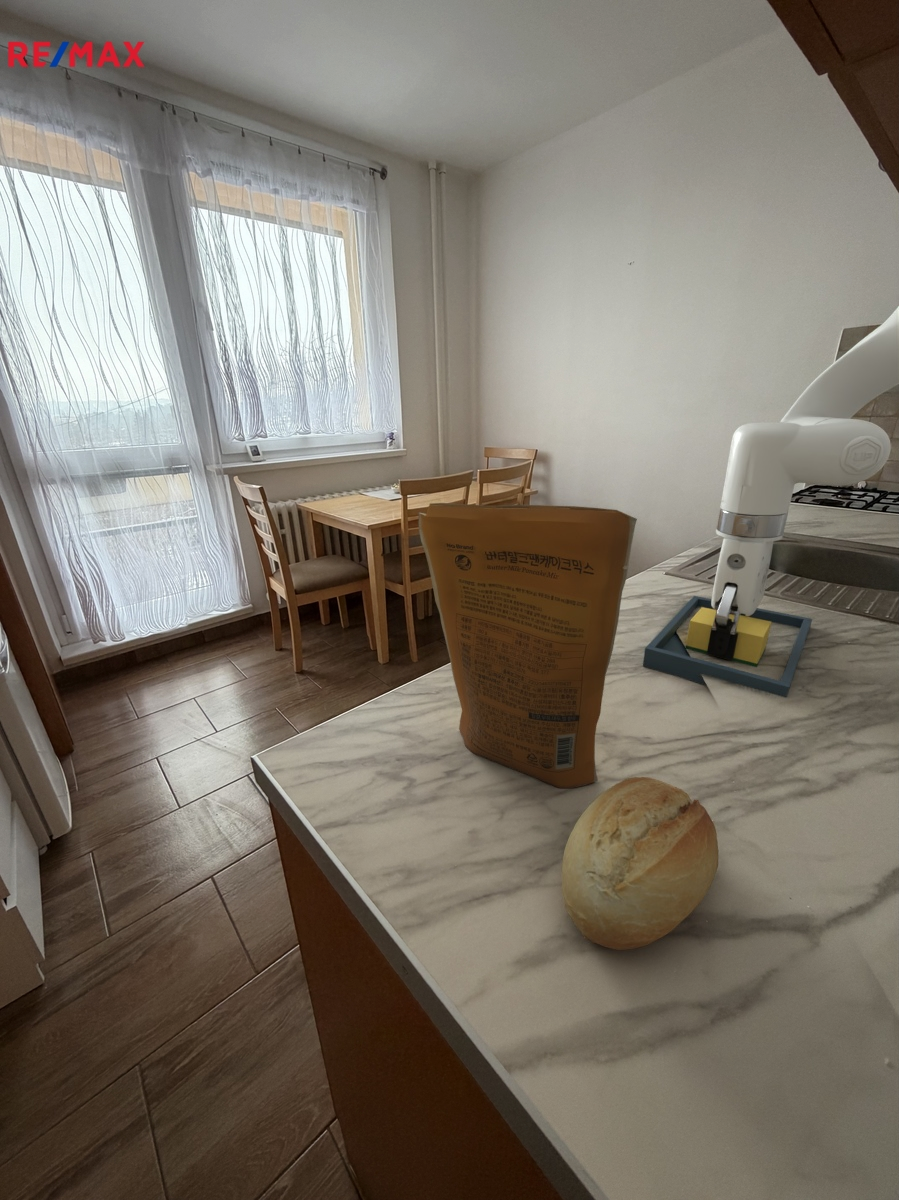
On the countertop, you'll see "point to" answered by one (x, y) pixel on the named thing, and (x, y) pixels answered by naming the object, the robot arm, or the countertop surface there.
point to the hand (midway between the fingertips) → (725, 646)
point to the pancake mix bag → (529, 626)
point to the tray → (673, 660)
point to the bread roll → (638, 863)
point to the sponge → (748, 630)
